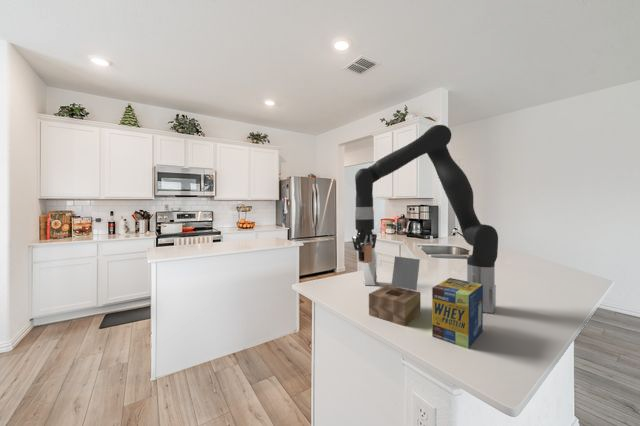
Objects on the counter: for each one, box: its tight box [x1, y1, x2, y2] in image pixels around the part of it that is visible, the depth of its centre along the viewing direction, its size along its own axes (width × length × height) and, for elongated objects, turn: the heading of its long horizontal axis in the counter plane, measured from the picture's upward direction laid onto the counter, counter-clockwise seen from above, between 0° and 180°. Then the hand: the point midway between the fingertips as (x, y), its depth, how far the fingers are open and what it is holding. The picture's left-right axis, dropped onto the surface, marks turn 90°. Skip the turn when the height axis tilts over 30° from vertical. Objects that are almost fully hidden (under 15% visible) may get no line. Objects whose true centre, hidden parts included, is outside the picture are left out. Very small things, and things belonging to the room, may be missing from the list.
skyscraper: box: [362, 231, 380, 287], centre depth 136 cm, size 8×8×28 cm
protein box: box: [431, 277, 484, 349], centre depth 82 cm, size 10×15×16 cm
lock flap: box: [390, 255, 420, 292], centre depth 105 cm, size 12×10×1 cm
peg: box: [357, 244, 372, 264], centre depth 107 cm, size 4×4×7 cm
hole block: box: [368, 285, 422, 327], centre depth 98 cm, size 14×14×8 cm
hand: (365, 259), depth 107 cm, fingers closed on peg, 4 cm apart
